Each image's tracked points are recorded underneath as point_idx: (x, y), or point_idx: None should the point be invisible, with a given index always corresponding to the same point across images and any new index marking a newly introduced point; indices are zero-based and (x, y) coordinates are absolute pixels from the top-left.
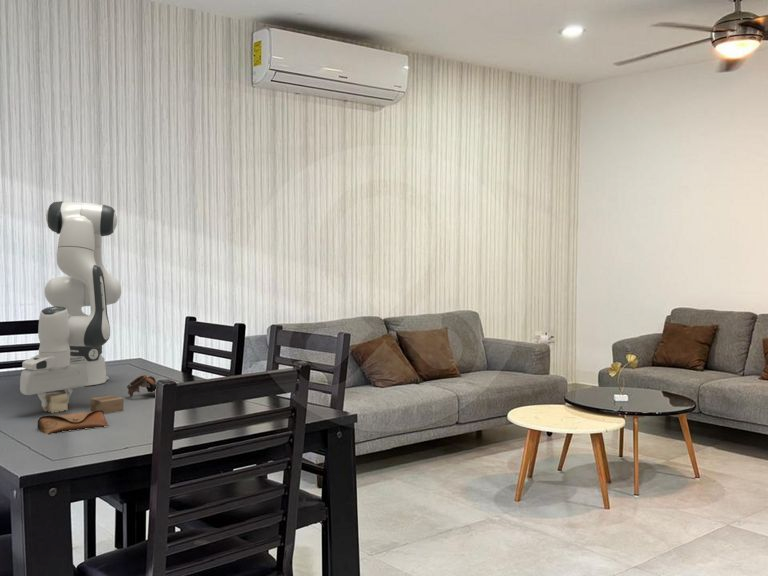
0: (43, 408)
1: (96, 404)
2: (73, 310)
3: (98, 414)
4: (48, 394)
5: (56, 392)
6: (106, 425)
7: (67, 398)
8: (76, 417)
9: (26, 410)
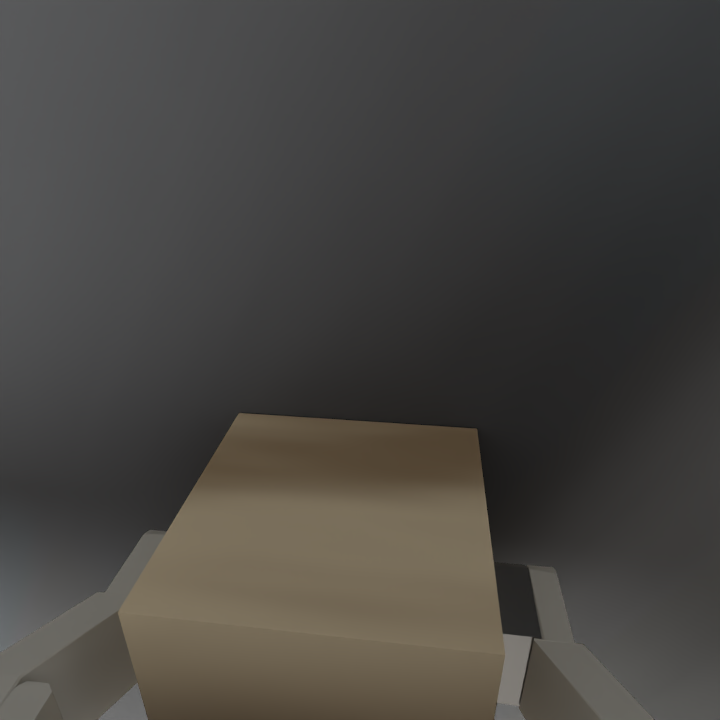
0: (229, 430)
1: None
2: None
3: None
4: (198, 689)
5: (430, 662)
6: None
7: (523, 698)
8: None
9: (53, 213)
